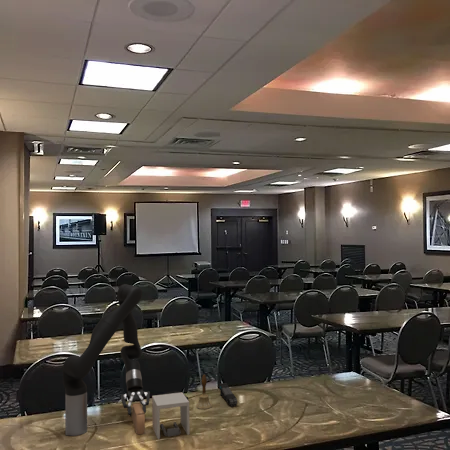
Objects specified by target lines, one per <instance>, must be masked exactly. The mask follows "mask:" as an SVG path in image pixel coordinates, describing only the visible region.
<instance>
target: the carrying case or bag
mask: <svg viewBox="0 0 450 450" xmlns="http://www.w3.org/2000/svg"><path fill="white" fill-rule="evenodd" d="M172 393H181V391H179V390H172V391H169V392H168V391H167V392H165V393H163V395H164V394H172ZM182 393H183V394H184V392H182ZM184 395H185V394H184ZM185 397H186V398H187V400H188V401H189V397H188V396H187V395H185Z"/></svg>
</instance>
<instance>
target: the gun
mask: <svg viewBox="0 0 450 450" xmlns="http://www.w3.org/2000/svg"><path fill="white" fill-rule="evenodd" d="M218 389H219V392H220V393H219V394H220V396H222V397H223V399H224V400H225V401H226V402H227V404H228V406H230V407H231V408H232V407H233V408H234V407H236V405H238V399H237V397H236V395H235V394H234V393H233V391H232V390H231V388H230V386H229V384H228V383H227V382H221V383H218Z"/></svg>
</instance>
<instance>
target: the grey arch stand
mask: <svg viewBox="0 0 450 450" xmlns="http://www.w3.org/2000/svg"><path fill="white" fill-rule="evenodd" d="M180 392H181V391H180ZM183 393H184V392H181V393H172V394H164V393H163V394H157V395H151V401H152V404H151V405H152V406H151V407H152V409H151V410H152V411H151V412H152V415H151V416H152V423H151V424H152V429H153V431H154V434H155V437H156V439H157V440H160V439H161V430H162V433H163V435H164V437H174V436H180V435H181V434H182V433H181V429H180V427H179V425H178V424H177V422H176V421H173V427H171V428H169V427H168V428H165V426H164V423H161V422H160V421H161V418H160V412H161V410H162V409H171V408H179V407H180V411H179V413H180V415H179V416H180V425H181V427H182V428H183V430H184V431H185V433H186V435H190V434H191V433H190V430H191V429H190V401H189V399H188V400H187V398H186V397H185V396H186V395H185V394H183ZM160 429H161V430H160Z"/></svg>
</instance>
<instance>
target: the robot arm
mask: <svg viewBox="0 0 450 450" xmlns="http://www.w3.org/2000/svg"><path fill="white" fill-rule="evenodd" d="M142 296H143V290H142V288H141V287H138V286H136V285H131V284H127V283H123V284H121V285H120V286H119V287H118V290H117V302H118V307H117V308H115V309H114V310H112V311H110V312H108V313H107V314H105V315H104V316H103V317H101V318H100V320H99V321H98V322H97V324H96V325H95V326H94V328H93V330H92V332H91V335H90V340H89V343H88V346H87V347H86V349H85V350H84V352H82V354H81V355H80V356H78V355H69V356H67V358H65V360H64V361H63V364H62V365H63V366H62V383H63V385H62V386H63V388H64V393H65V413H64V416H65V418H64V419H65V426H64V427H65V436H73V437H74V436H81V435H83V434H85V433H87V432H88V387H87V384H86V382H84V380H83V378H85V377H87V375H88V374H89V373H90V371H91V370H92V368H93V366H94V364H95V363H96V361H97V359H98V358H99V356H100V355H101V353H102V352H103V350H104V349H105V348H106V346H107V344H108V343H109V342H110V340H111V339H112V338H113V337H114V335H115V333H116V332H117V331H118V329H119V328H120V326H121V325H122V327H123V328H122V331H123V333H122V334H123V341H124V343H126V344H129V345H124V346H122V347H121V349H120V356H121V359H122V361H123V363H124V366H125V384H126V393H125V394H123V393H121V394H120V400H121V403H122V407H123V409H127V414H128V415H127V416H129V417H132V407H131V406H132V403H140V404H141V406H142V409H143V411H144V414H145V415H146V413H147V408H146V407H148V406H149V405H150V404H149V403H150V395H151V392H150V391H149V390H148V391H144V386H143V380H142V379H143V378H142V373H141V365H140V362H139V360H138V359H140V358H141V356H142V354H143V352H142V351H143V350H142V347H141V344H140V341H139V337H138V336H139V335H138V325H137V321H136V319H135V316H134V315H133V313H132V312H133V310H134V309H135V308H136V307H137V305H138V304H139V303H140V301H141V300H142ZM144 396H145V397H146V401H145V399H144ZM126 399H128V403H127V402H126Z"/></svg>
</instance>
